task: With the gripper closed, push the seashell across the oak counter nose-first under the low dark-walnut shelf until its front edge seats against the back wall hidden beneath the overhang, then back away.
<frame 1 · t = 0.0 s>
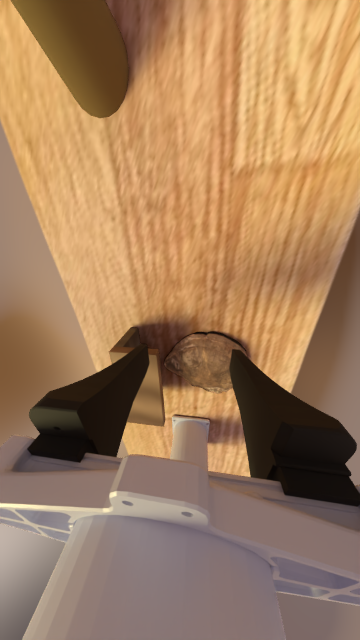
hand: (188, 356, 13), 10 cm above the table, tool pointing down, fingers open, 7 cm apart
shell: (209, 359, 26), on the table
walnut shelf: (152, 362, 27), on the table
cork: (97, 70, 13), on the table
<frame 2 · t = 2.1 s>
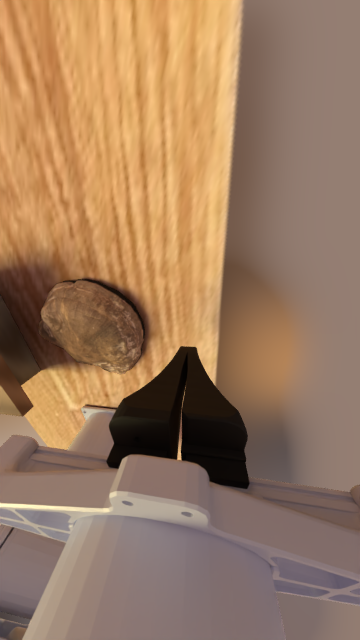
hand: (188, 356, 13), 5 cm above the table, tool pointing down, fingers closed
shell: (101, 325, 19), on the table
walnut shelf: (31, 331, 20), on the table
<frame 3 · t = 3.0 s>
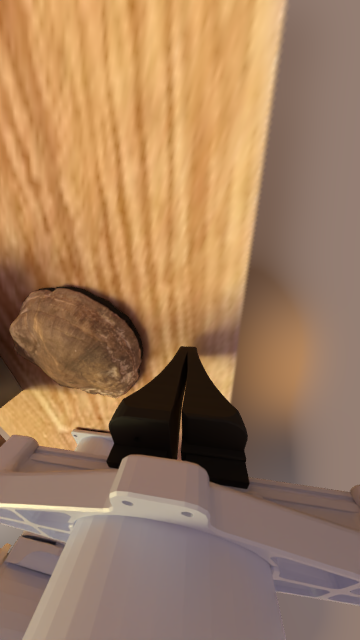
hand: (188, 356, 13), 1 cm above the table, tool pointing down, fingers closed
shell: (90, 341, 15), on the table
walnut shelf: (7, 346, 16), on the table
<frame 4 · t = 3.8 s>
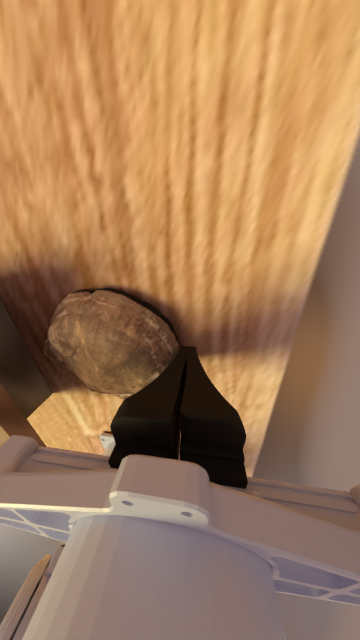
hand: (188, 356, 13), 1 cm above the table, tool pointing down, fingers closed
shell: (122, 345, 15), on the table, touching gripper
walnut shelf: (42, 349, 16), on the table
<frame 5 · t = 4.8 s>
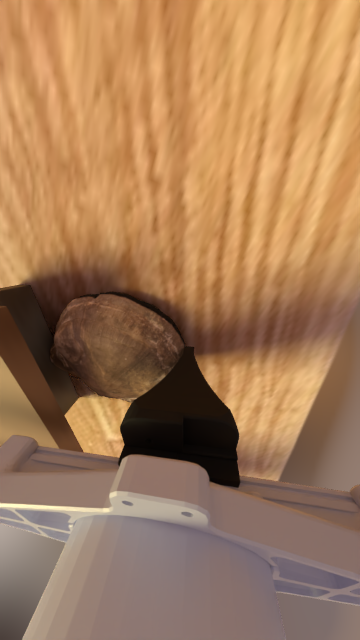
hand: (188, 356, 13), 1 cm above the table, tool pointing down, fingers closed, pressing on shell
shell: (127, 348, 15), on the table, touching gripper, walnut shelf
walnut shelf: (74, 352, 16), on the table
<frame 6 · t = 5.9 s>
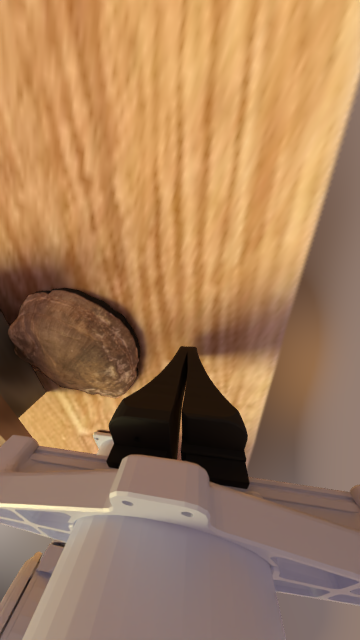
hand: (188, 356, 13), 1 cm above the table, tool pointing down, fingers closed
shell: (88, 342, 16), on the table
walnut shelf: (35, 347, 16), on the table
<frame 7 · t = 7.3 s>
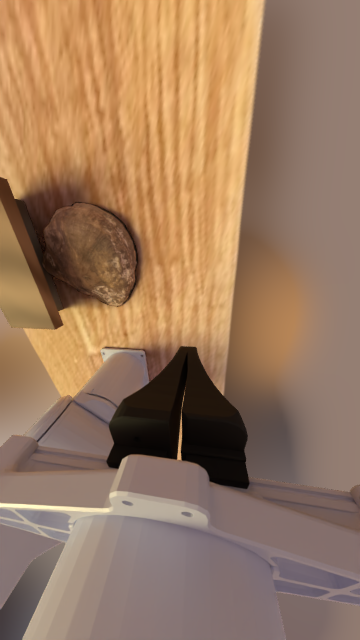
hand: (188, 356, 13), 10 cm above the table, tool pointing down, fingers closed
shell: (98, 257, 21), on the table
walnut shelf: (57, 262, 21), on the table
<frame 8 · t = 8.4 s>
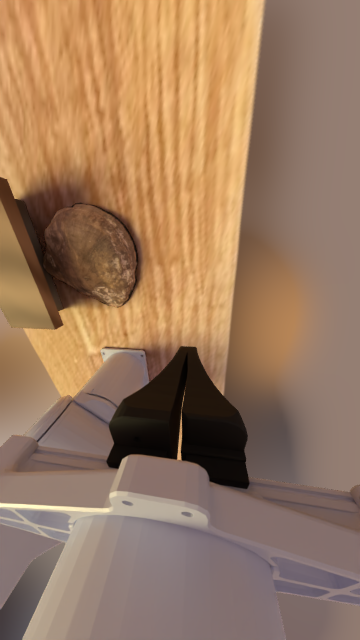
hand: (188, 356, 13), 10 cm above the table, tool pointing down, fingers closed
shell: (98, 258, 21), on the table
walnut shelf: (57, 262, 21), on the table
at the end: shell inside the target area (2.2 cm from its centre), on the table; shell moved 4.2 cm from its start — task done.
